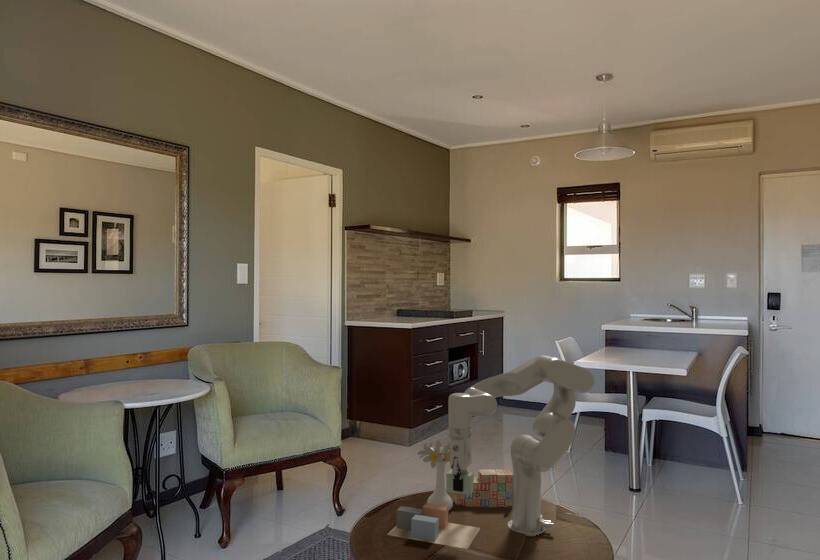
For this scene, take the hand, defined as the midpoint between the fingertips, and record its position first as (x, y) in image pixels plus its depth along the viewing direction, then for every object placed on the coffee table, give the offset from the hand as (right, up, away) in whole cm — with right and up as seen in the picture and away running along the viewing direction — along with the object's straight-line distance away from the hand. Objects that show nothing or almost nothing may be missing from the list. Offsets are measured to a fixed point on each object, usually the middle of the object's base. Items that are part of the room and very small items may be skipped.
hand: (460, 487), depth 193 cm
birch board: (-8, -17, +4) cm, 19 cm away
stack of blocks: (+11, -17, +32) cm, 38 cm away
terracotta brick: (-8, -16, +10) cm, 20 cm away
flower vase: (-5, -17, +23) cm, 29 cm away
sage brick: (0, -1, 0) cm, 1 cm away
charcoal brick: (-16, -16, +7) cm, 24 cm away
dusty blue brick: (-11, -16, 0) cm, 19 cm away
